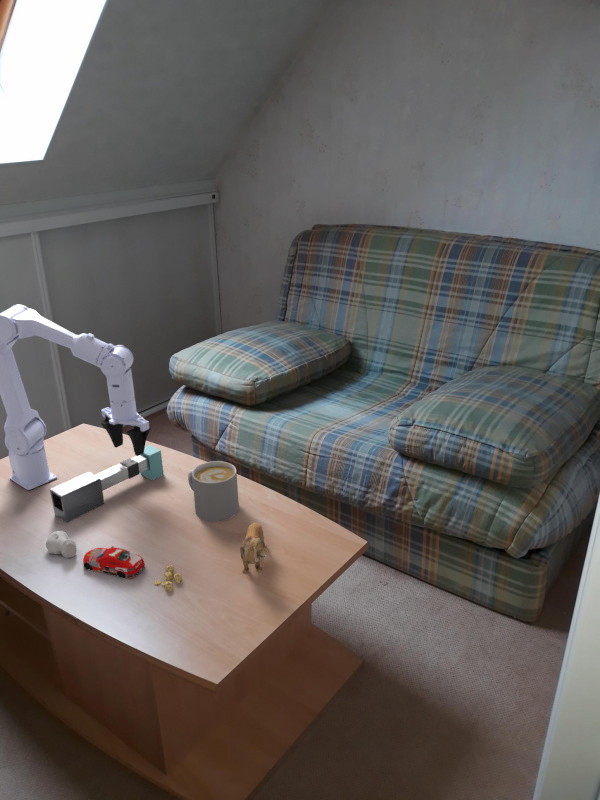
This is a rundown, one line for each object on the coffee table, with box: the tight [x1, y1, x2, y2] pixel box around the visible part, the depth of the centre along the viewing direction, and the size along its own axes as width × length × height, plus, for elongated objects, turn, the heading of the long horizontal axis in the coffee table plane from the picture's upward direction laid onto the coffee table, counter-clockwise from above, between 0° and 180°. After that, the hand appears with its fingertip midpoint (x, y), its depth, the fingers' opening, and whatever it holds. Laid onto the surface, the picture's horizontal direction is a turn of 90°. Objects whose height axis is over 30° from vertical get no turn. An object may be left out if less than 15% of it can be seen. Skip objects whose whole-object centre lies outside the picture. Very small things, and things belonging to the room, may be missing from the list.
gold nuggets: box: [154, 564, 183, 593], centre depth 129 cm, size 5×5×2 cm
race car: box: [82, 546, 146, 579], centre depth 132 cm, size 13×5×4 cm, turn 69°
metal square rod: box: [95, 454, 150, 492], centre depth 158 cm, size 3×20×3 cm, turn 139°
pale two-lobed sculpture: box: [45, 530, 78, 559], centre depth 137 cm, size 4×8×5 cm
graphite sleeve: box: [49, 471, 105, 524], centre depth 151 cm, size 5×10×7 cm, turn 140°
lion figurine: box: [239, 522, 269, 574], centre depth 132 cm, size 15×5×9 cm, turn 7°
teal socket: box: [140, 444, 164, 481], centre depth 165 cm, size 5×4×7 cm
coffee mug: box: [187, 460, 240, 523], centre depth 151 cm, size 13×10×10 cm
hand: (129, 449), depth 159 cm, fingers open, 7 cm apart
